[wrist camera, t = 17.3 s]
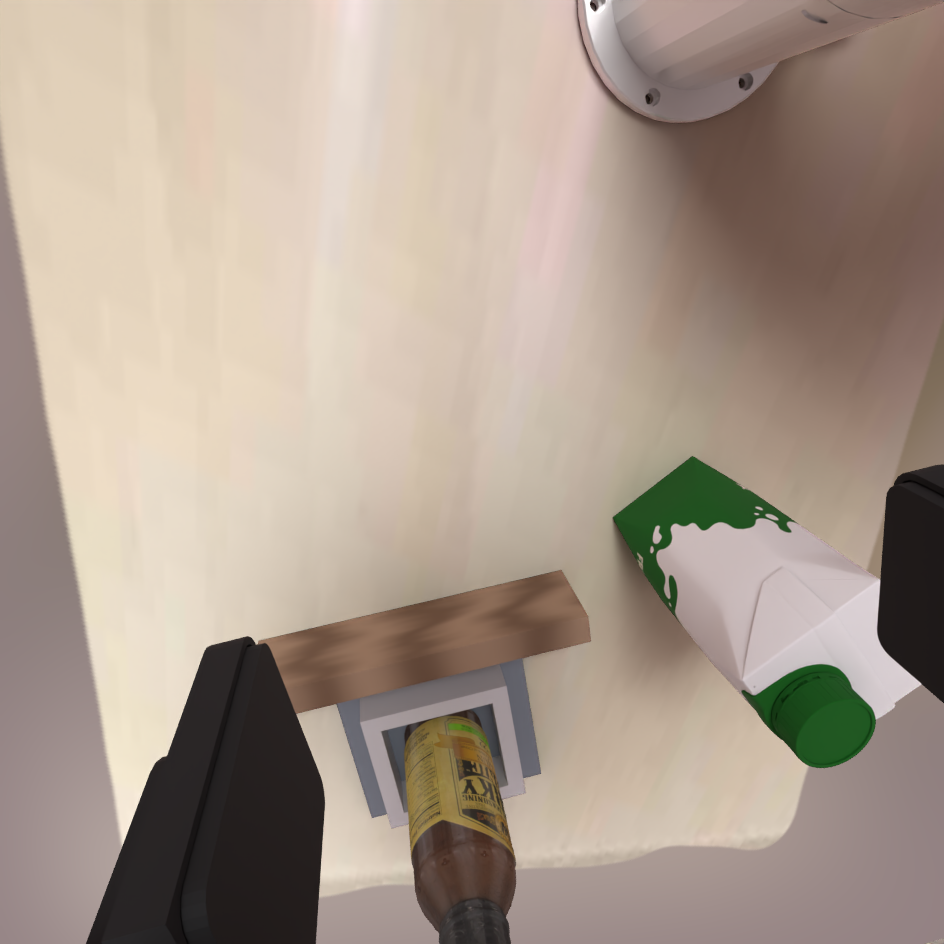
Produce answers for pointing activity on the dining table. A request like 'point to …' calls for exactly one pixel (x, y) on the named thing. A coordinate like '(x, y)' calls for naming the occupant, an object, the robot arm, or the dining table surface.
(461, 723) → the sauce bottle
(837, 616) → the milk carton
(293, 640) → the walnut wall
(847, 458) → the dining table surface
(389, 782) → the holder
